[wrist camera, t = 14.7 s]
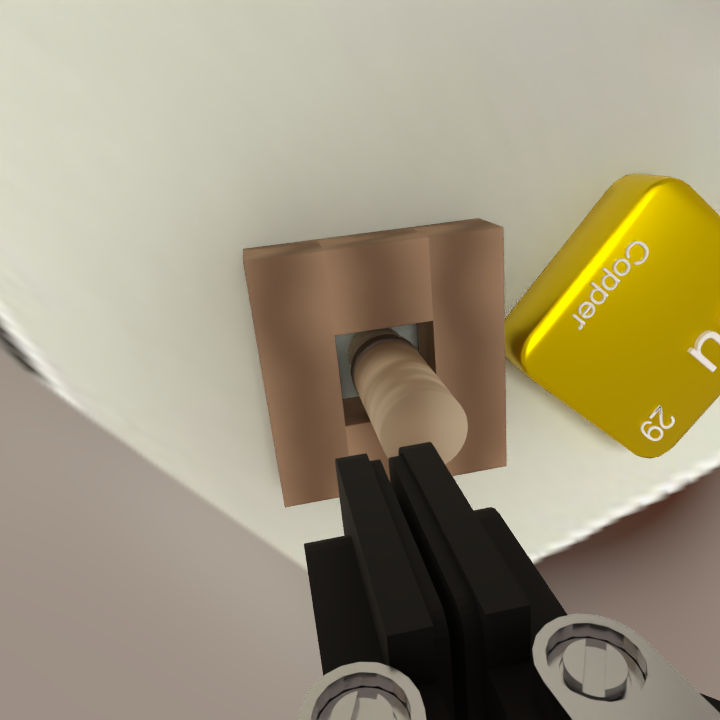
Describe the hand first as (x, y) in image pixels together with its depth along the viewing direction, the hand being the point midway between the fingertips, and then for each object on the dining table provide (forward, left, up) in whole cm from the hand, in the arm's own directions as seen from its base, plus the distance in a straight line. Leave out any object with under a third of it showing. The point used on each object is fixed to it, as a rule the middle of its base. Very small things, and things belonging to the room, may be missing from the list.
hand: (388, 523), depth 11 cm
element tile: (-23, +8, -30) cm, 39 cm away
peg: (-5, +8, -29) cm, 31 cm away
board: (-5, +8, -29) cm, 31 cm away
